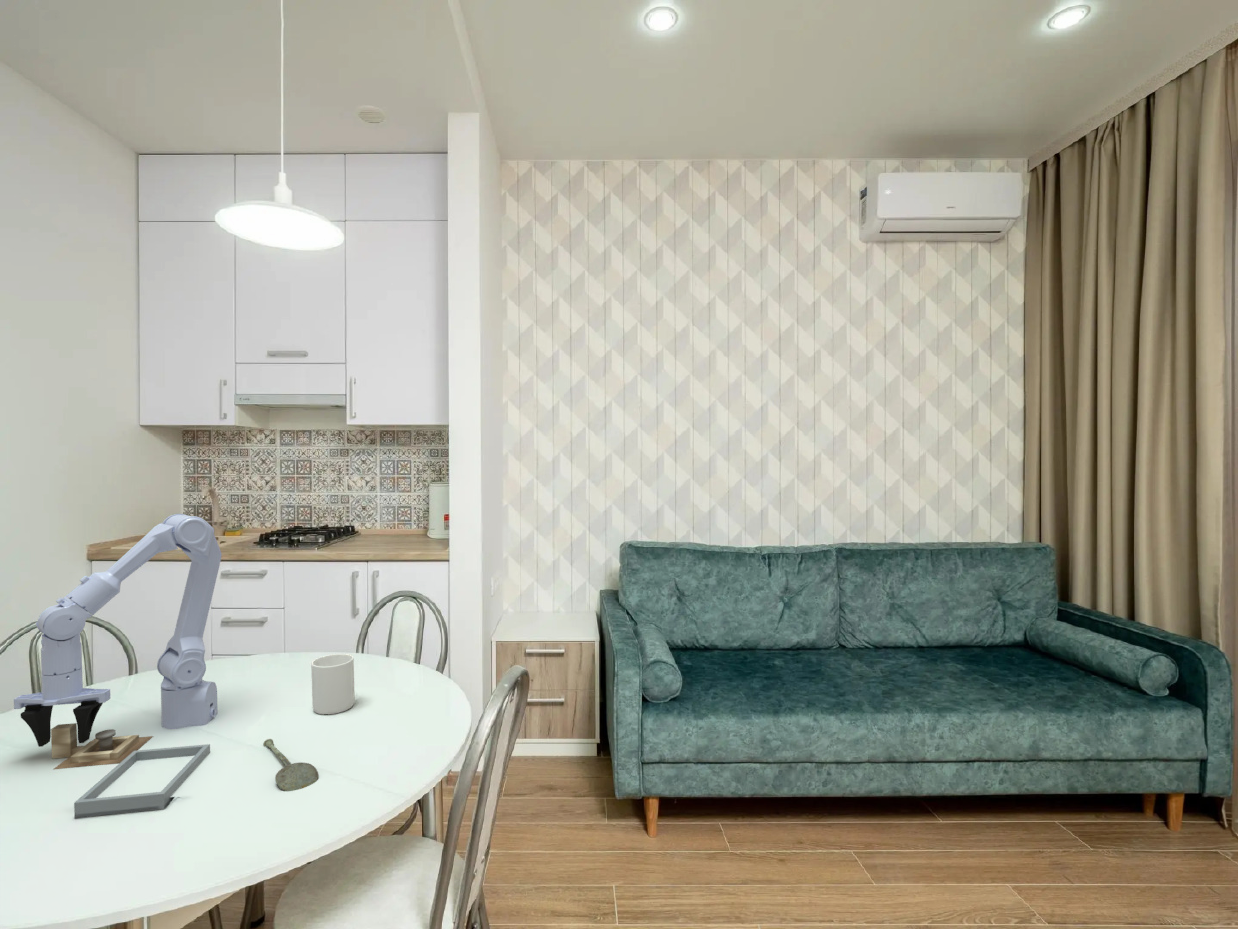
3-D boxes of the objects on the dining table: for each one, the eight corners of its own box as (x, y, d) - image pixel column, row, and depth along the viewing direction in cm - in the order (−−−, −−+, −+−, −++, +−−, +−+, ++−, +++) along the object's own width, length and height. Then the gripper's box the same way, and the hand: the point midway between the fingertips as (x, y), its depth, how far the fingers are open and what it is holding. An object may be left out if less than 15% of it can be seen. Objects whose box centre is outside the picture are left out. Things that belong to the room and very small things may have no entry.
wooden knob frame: (139, 741, 126) (138, 713, 126) (117, 759, 118) (116, 729, 118) (68, 746, 123) (67, 718, 123) (41, 766, 116) (40, 735, 116)
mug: (349, 691, 153) (347, 647, 152) (357, 709, 142) (356, 662, 142) (309, 699, 148) (307, 653, 148) (315, 719, 138) (313, 669, 138)
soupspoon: (281, 803, 108) (322, 790, 112) (282, 783, 108) (323, 771, 112) (249, 751, 124) (286, 742, 129) (250, 734, 124) (287, 725, 128)
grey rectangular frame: (210, 757, 121) (209, 744, 121) (164, 809, 104) (163, 794, 104) (134, 764, 119) (134, 750, 119) (74, 818, 101) (74, 802, 101)
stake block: (153, 741, 128) (153, 718, 128) (123, 768, 117) (122, 743, 117) (90, 746, 126) (89, 723, 125) (53, 774, 115) (52, 749, 115)
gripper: (0, 681, 114) (2, 756, 115) (94, 675, 117) (96, 748, 117) (28, 667, 121) (30, 739, 121) (115, 662, 124) (117, 731, 124)
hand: (64, 742), depth 120 cm, fingers open, 6 cm apart
